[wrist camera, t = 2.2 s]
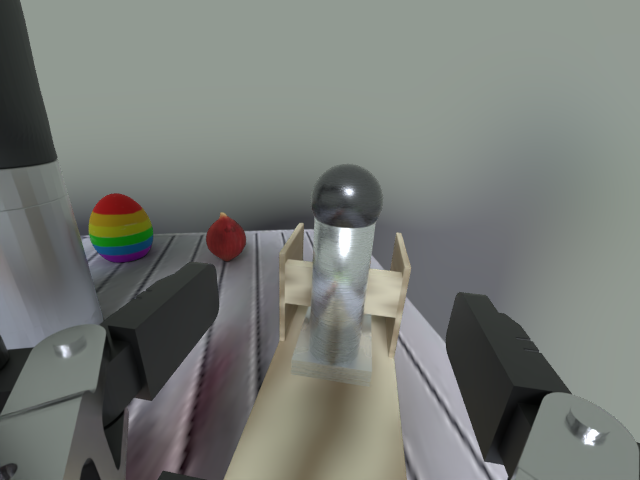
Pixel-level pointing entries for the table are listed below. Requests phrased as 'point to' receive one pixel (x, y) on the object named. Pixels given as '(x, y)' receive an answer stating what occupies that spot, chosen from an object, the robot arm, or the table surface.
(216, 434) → the table surface
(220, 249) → the onion
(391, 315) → the frame
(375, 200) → the shaft
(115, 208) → the decorative egg
